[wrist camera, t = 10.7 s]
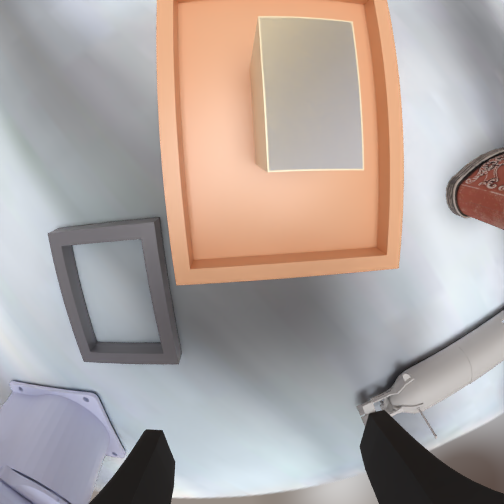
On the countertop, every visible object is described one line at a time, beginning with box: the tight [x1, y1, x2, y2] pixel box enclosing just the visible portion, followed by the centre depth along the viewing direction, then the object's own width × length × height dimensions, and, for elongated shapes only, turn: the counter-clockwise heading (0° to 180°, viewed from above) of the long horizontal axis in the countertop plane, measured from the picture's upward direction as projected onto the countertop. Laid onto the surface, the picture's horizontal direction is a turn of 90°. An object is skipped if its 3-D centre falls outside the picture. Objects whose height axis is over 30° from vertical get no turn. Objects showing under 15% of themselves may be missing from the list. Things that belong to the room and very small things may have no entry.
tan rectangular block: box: [250, 16, 364, 172], centre depth 12 cm, size 3×5×6 cm, turn 3°
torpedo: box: [357, 310, 504, 439], centre depth 18 cm, size 18×5×6 cm, turn 114°
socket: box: [48, 217, 182, 364], centre depth 17 cm, size 7×9×1 cm
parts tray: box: [156, 0, 404, 285], centre depth 14 cm, size 12×16×2 cm
